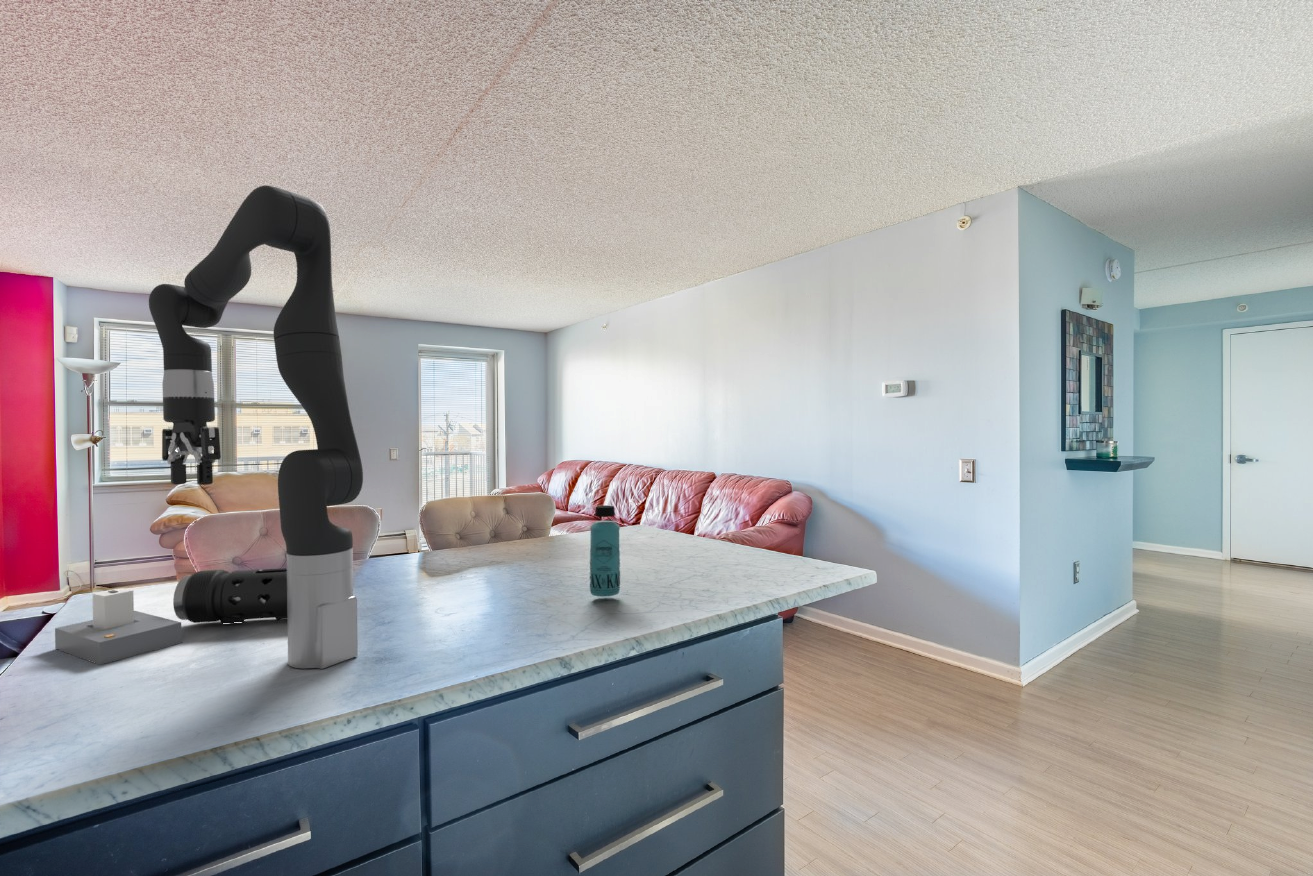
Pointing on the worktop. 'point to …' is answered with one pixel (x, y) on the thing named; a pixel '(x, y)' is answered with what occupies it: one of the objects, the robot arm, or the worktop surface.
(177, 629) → the outlet block
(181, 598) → the muzzle brake
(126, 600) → the block
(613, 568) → the beverage bottle
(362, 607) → the worktop surface
